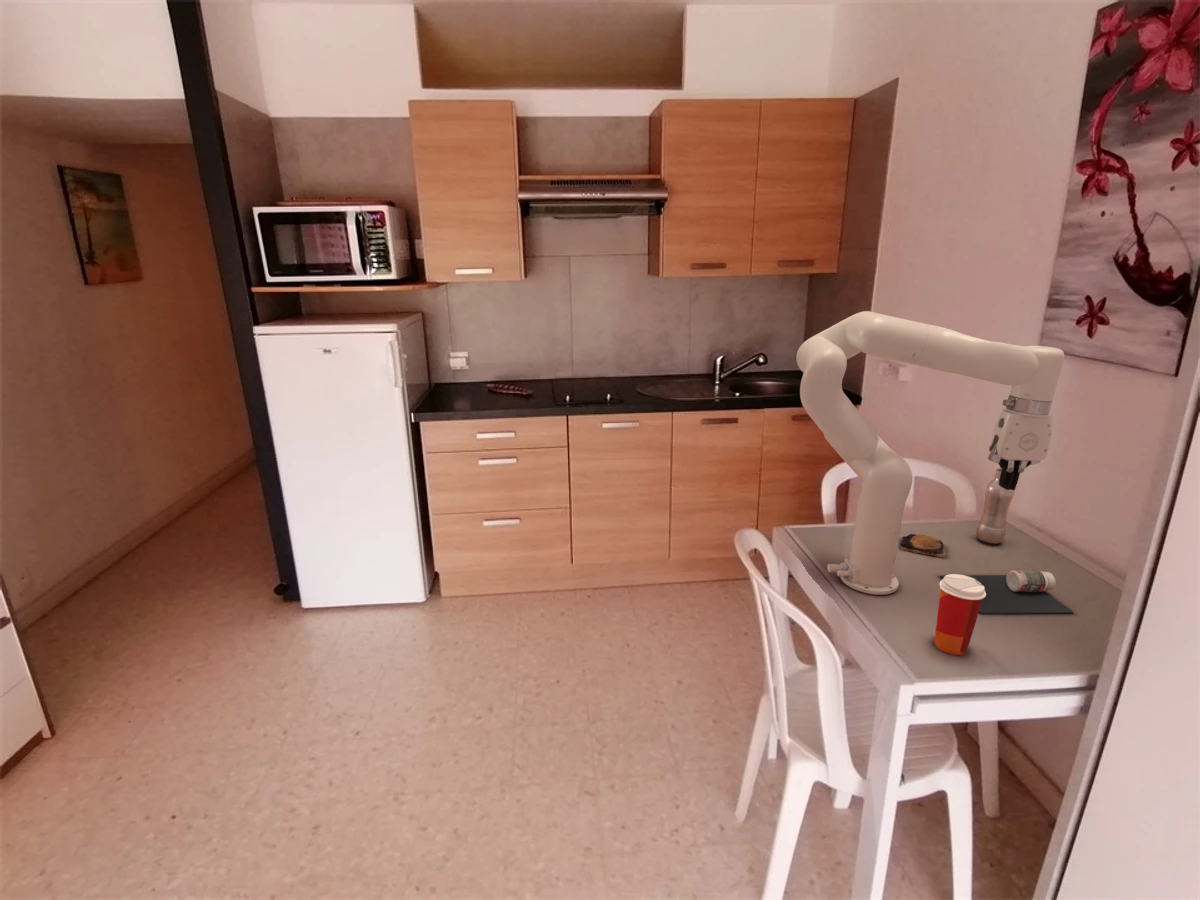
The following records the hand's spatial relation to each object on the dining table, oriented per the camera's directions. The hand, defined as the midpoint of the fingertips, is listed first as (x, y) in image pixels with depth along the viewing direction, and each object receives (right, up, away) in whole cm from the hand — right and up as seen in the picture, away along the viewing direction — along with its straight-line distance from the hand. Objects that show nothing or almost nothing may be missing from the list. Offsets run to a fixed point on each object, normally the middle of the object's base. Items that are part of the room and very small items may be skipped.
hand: (1006, 487), depth 133 cm
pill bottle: (+5, -21, +5) cm, 23 cm away
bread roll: (-4, -18, +27) cm, 32 cm away
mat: (+2, -24, +5) cm, 25 cm away
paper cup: (-20, -30, -14) cm, 39 cm away
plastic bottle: (+16, -16, +31) cm, 38 cm away
